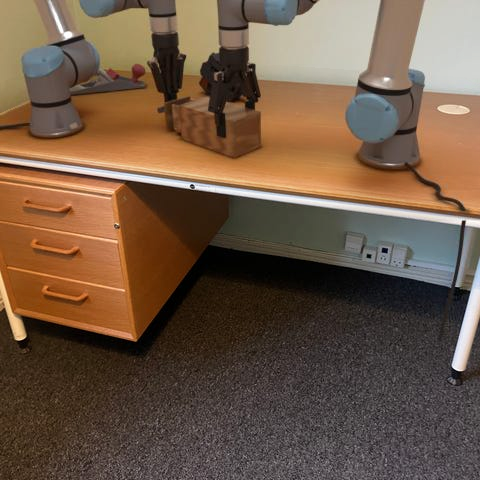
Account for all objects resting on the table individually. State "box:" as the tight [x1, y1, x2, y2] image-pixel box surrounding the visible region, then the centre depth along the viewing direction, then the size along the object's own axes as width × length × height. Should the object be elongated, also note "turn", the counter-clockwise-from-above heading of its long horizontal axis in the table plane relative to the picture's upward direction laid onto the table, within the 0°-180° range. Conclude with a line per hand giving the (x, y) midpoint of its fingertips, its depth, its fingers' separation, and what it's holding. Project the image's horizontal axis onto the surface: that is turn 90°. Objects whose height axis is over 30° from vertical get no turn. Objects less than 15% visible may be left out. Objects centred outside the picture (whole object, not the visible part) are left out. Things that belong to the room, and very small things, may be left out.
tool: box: [198, 52, 246, 102], centre depth 185 cm, size 6×19×15 cm, turn 51°
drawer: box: [156, 95, 196, 133], centre depth 154 cm, size 26×9×8 cm, turn 47°
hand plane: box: [70, 63, 146, 96], centre depth 194 cm, size 7×31×15 cm, turn 107°
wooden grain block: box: [179, 96, 262, 159], centre depth 148 cm, size 21×10×10 cm, turn 47°
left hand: (172, 114), depth 161 cm, fingers closed
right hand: (235, 130), depth 144 cm, fingers closed on wooden grain block, 10 cm apart
